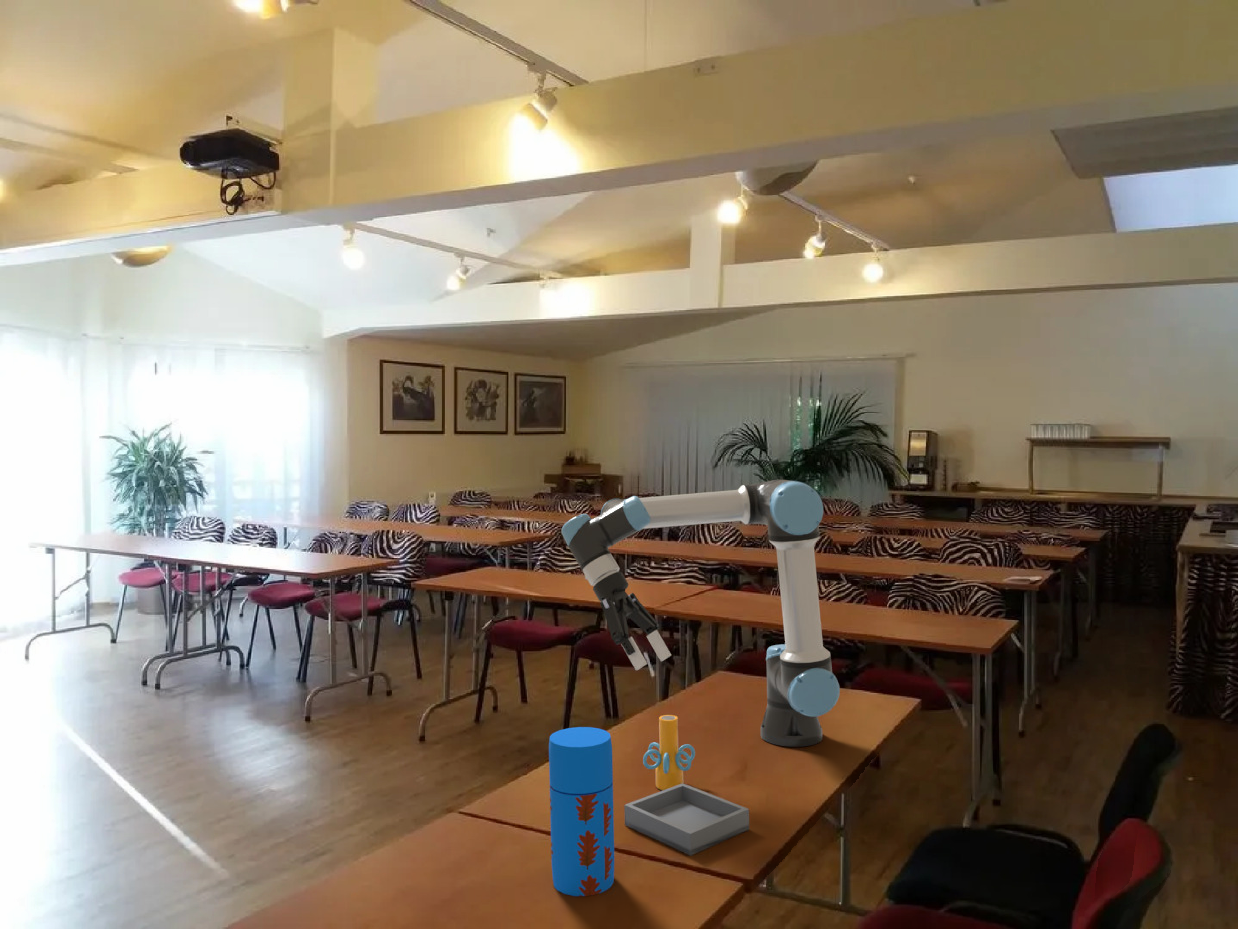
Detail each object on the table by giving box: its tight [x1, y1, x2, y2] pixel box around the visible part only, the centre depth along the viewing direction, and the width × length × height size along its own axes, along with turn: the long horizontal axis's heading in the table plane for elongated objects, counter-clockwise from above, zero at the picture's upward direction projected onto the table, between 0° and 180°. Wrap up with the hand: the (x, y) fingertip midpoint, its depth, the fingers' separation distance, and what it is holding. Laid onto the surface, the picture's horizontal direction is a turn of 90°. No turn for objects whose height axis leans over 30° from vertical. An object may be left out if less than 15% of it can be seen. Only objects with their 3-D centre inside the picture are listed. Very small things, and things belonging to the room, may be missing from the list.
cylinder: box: [642, 714, 696, 791], centre depth 199 cm, size 12×10×15 cm
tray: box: [623, 782, 750, 856], centre depth 178 cm, size 16×18×4 cm
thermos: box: [548, 726, 615, 897], centre depth 157 cm, size 11×11×25 cm
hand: (654, 662), depth 200 cm, fingers open, 13 cm apart
